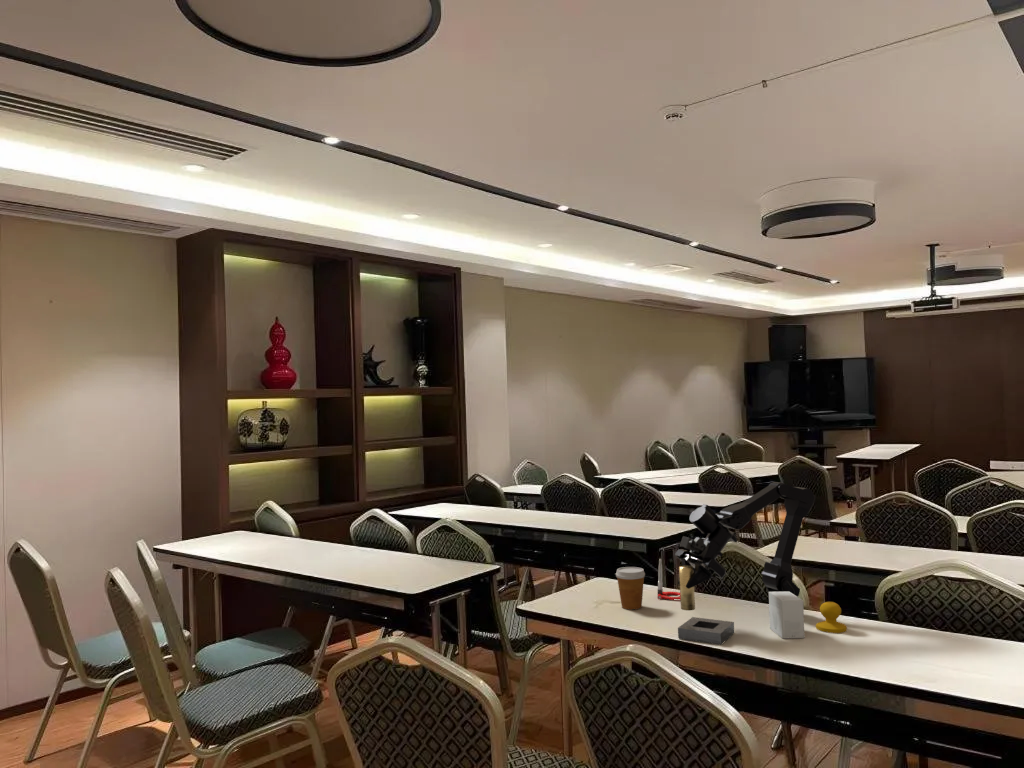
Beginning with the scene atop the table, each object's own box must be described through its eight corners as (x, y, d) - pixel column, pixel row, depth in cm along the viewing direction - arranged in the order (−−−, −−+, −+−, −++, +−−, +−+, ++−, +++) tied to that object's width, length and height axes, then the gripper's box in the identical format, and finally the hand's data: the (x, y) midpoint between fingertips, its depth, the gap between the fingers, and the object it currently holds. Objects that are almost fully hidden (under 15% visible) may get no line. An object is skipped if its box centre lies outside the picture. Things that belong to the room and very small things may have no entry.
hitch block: (734, 632, 214) (733, 621, 214) (721, 644, 203) (720, 633, 204) (693, 627, 220) (692, 616, 220) (678, 638, 210) (677, 627, 210)
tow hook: (686, 595, 258) (658, 594, 260) (686, 557, 258) (658, 556, 260) (685, 602, 250) (657, 600, 252) (685, 563, 250) (657, 561, 252)
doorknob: (819, 623, 219) (849, 627, 215) (813, 631, 213) (844, 634, 208) (818, 597, 220) (847, 600, 215) (812, 604, 213) (842, 607, 208)
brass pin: (696, 607, 220) (694, 565, 220) (694, 610, 216) (691, 568, 217) (682, 606, 221) (680, 565, 222) (679, 609, 218) (677, 567, 218)
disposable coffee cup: (611, 606, 247) (609, 569, 247) (635, 601, 251) (634, 565, 251) (627, 612, 238) (625, 574, 239) (652, 608, 242) (651, 570, 243)
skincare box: (806, 638, 206) (804, 599, 207) (782, 639, 206) (780, 600, 207) (791, 627, 217) (789, 590, 217) (769, 628, 217) (767, 591, 217)
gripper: (678, 522, 230) (648, 562, 226) (714, 530, 212) (681, 574, 208) (702, 545, 232) (672, 586, 228) (739, 556, 214) (708, 600, 210)
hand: (682, 586), depth 218 cm, fingers closed on brass pin, 4 cm apart
